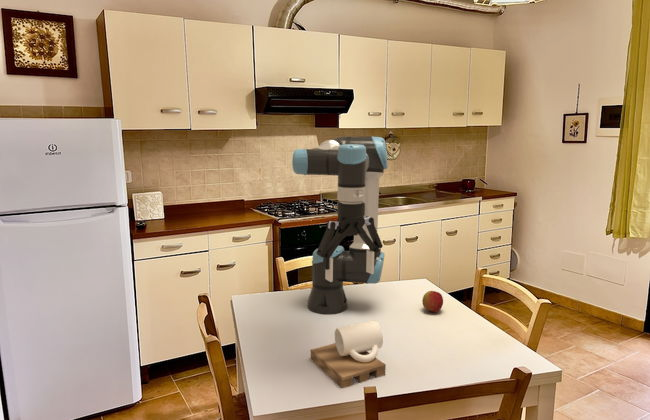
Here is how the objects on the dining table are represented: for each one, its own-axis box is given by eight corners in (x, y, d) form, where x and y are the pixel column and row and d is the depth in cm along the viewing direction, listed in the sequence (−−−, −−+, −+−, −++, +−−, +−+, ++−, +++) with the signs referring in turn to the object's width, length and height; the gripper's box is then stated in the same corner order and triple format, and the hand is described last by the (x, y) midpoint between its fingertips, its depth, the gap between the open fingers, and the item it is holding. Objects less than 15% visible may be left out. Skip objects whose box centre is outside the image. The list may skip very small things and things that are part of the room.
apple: (447, 312, 176) (448, 292, 175) (432, 317, 171) (433, 296, 170) (432, 306, 182) (433, 286, 181) (417, 310, 178) (418, 290, 176)
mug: (385, 365, 136) (346, 374, 133) (369, 332, 145) (333, 339, 141) (390, 348, 131) (350, 357, 128) (374, 315, 140) (336, 322, 136)
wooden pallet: (310, 358, 140) (310, 349, 140) (350, 348, 147) (350, 339, 147) (342, 388, 125) (342, 377, 124) (385, 374, 132) (385, 364, 131)
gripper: (317, 207, 119) (317, 287, 123) (396, 200, 131) (393, 273, 135) (304, 203, 126) (304, 279, 130) (380, 196, 138) (378, 266, 142)
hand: (350, 276), depth 132 cm, fingers open, 13 cm apart
